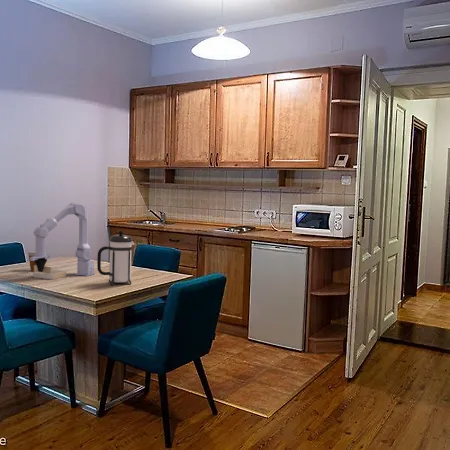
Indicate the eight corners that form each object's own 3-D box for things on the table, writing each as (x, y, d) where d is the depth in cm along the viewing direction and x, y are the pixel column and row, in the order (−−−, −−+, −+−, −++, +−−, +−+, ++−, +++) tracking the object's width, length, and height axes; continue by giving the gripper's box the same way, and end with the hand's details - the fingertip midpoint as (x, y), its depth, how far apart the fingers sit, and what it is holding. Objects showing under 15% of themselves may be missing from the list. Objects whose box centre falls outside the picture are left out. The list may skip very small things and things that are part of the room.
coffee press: (117, 279, 286) (118, 228, 284) (138, 282, 278) (140, 230, 275) (96, 283, 271) (97, 230, 269) (117, 287, 263) (118, 232, 261)
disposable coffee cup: (38, 272, 298) (38, 253, 297) (24, 271, 300) (24, 252, 299) (47, 269, 307) (47, 251, 306) (33, 268, 309) (33, 250, 308)
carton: (66, 276, 289) (66, 271, 289) (53, 279, 278) (53, 274, 278) (47, 274, 294) (47, 269, 294) (32, 277, 282) (32, 272, 282)
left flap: (51, 267, 279) (51, 267, 279) (50, 273, 279) (50, 273, 279) (37, 265, 282) (36, 265, 282) (36, 271, 282) (36, 271, 282)
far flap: (46, 263, 293) (45, 263, 293) (33, 265, 283) (33, 265, 283) (46, 268, 293) (46, 268, 293) (34, 271, 283) (34, 271, 283)
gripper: (37, 250, 269) (37, 274, 270) (54, 247, 283) (54, 270, 284) (27, 249, 271) (27, 273, 272) (44, 246, 285) (44, 269, 286)
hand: (40, 271), depth 278 cm, fingers closed
